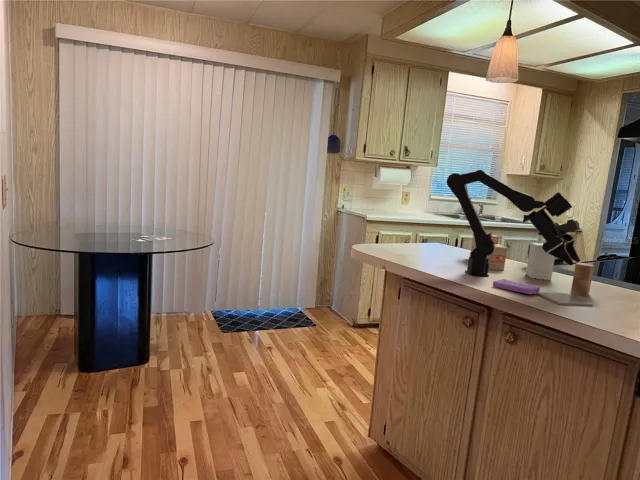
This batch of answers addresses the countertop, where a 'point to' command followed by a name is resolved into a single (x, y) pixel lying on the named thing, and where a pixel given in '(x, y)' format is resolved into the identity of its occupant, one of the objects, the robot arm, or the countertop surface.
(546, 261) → the supplement box
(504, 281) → the sponges
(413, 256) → the countertop surface
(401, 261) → the countertop surface
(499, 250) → the tan cardboard box
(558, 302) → the coaster
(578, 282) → the walnut block
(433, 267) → the countertop surface
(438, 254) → the countertop surface
